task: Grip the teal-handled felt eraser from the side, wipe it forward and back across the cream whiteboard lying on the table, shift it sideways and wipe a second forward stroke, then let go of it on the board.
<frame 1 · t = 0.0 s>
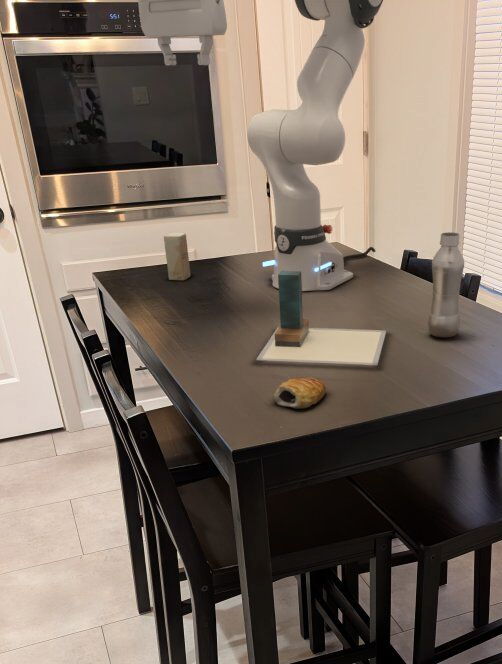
hand: (187, 65, 138), 48 cm above the table, tool pointing down, fingers open, 8 cm apart
whiteboard: (324, 348, 143), on the table
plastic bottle: (443, 336, 149), on the table
pastry: (300, 401, 121), on the table
box: (180, 278, 190), on the table
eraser: (292, 338, 146), point 1 cm above the table, touching whiteboard
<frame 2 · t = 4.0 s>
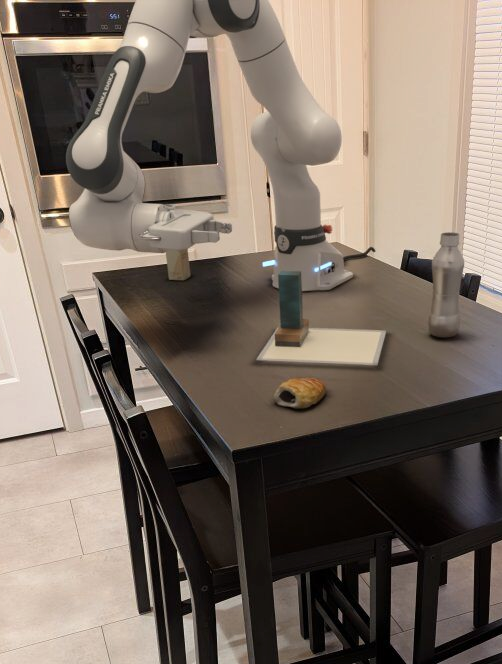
hand: (225, 232, 137), 21 cm above the table, tool horizontal, fingers open, 8 cm apart
nothing on the table moved.
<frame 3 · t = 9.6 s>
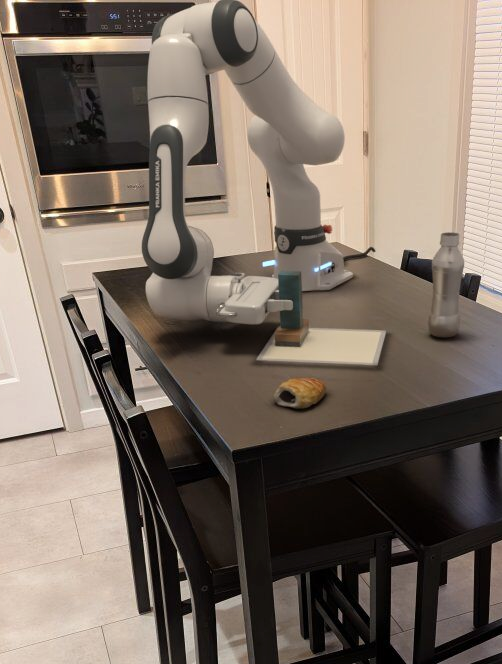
hand: (295, 301, 142), 8 cm above the table, tool horizontal, fingers closed on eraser, 3 cm apart
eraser: (292, 338, 146), point 1 cm above the table, touching gripper, whiteboard
everything else where it was.
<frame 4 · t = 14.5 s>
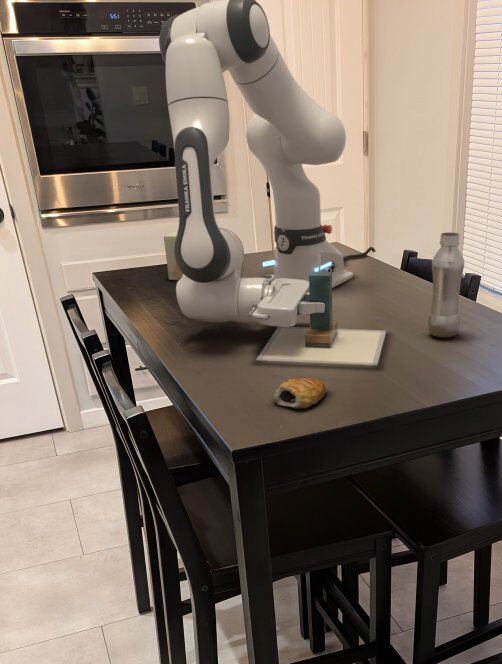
hand: (326, 303, 141), 8 cm above the table, tool horizontal, fingers closed on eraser, 3 cm apart
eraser: (321, 339, 145), point 1 cm above the table, touching gripper
everything else where it was.
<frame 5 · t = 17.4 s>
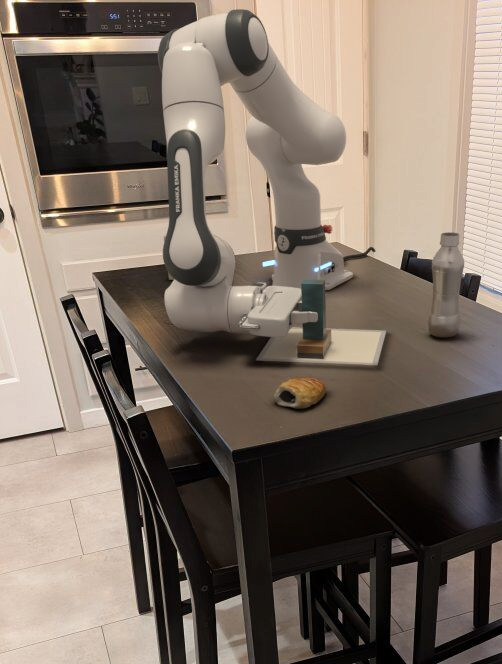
hand: (320, 312, 136), 8 cm above the table, tool horizontal, fingers closed on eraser, 3 cm apart
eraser: (314, 349, 140), point 1 cm above the table, touching gripper
everything else where it was.
when the fingers open (8 cm above the table, at t = 19.3 s): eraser stays where it is, resting on whiteboard.
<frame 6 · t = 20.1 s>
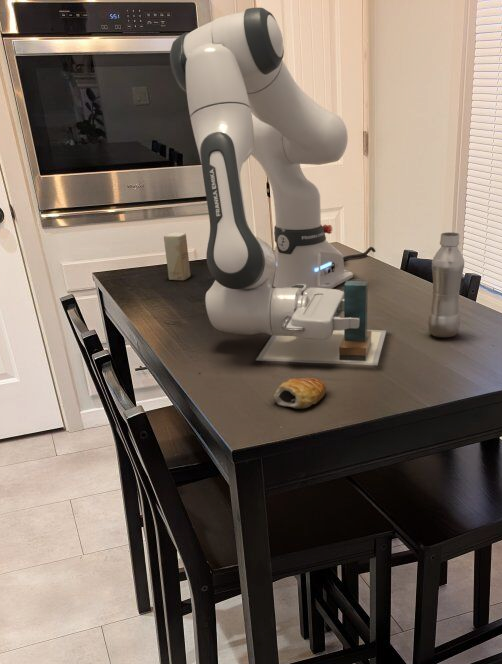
hand: (362, 314, 135), 8 cm above the table, tool horizontal, fingers open, 8 cm apart
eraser: (355, 351, 139), point 1 cm above the table, touching whiteboard
everything else where it was.
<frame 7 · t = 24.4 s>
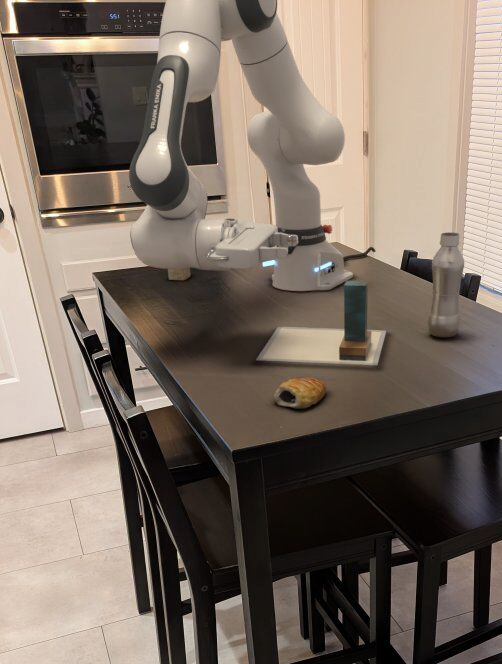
hand: (292, 246, 131), 20 cm above the table, tool horizontal, fingers open, 8 cm apart
nothing on the table moved.
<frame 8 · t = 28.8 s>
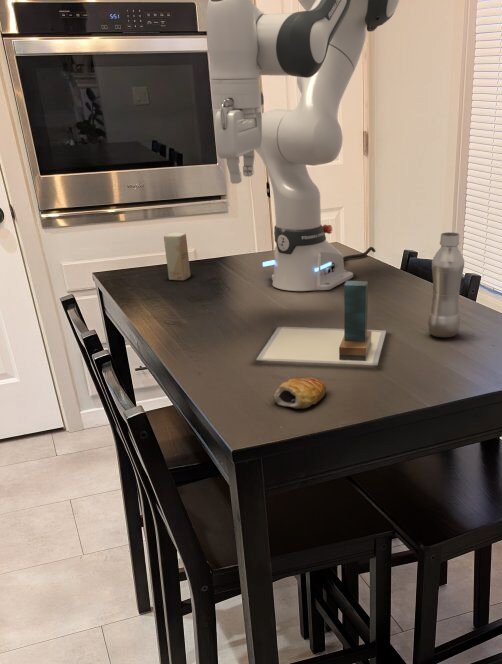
hand: (242, 179, 140), 29 cm above the table, tool pointing down, fingers open, 8 cm apart
nothing on the table moved.
at the end: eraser moved 14.9 cm from its start; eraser inside the target area on the whiteboard (0.4 cm from its centre), point 0.8 cm above the whiteboard's base; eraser tilted 0° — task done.
